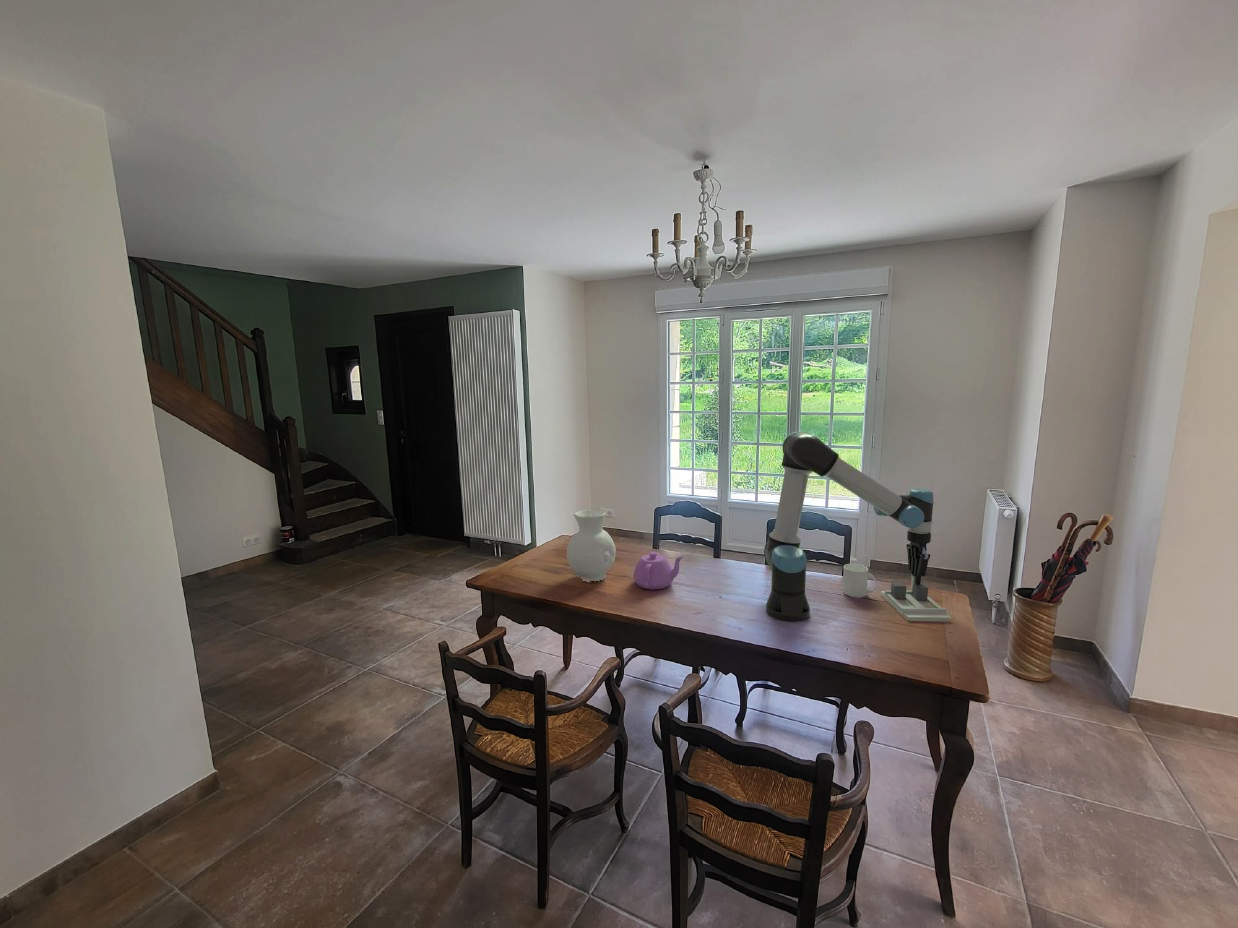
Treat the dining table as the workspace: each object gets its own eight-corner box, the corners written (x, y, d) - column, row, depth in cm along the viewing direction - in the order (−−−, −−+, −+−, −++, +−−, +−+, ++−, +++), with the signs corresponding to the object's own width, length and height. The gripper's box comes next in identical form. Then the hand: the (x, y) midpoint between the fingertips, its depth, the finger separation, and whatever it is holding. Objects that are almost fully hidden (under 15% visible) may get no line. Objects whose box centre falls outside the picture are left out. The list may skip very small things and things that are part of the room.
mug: (874, 602, 189) (875, 575, 187) (840, 594, 196) (841, 568, 194) (878, 594, 195) (880, 567, 194) (845, 587, 203) (846, 562, 201)
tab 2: (915, 600, 185) (916, 587, 184) (911, 597, 188) (912, 584, 187) (927, 600, 184) (928, 587, 184) (923, 597, 187) (923, 584, 187)
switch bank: (907, 620, 173) (908, 612, 173) (880, 594, 195) (881, 587, 194) (950, 621, 172) (951, 613, 172) (918, 594, 194) (919, 587, 193)
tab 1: (894, 598, 187) (895, 586, 186) (890, 595, 190) (891, 582, 189) (905, 598, 186) (906, 586, 186) (901, 595, 189) (902, 583, 188)
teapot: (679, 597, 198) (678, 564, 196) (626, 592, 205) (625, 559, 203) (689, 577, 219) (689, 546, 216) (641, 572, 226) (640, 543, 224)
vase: (623, 574, 224) (621, 509, 220) (596, 591, 207) (593, 521, 202) (590, 567, 234) (587, 504, 230) (561, 583, 217) (557, 515, 212)
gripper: (939, 536, 179) (935, 598, 182) (920, 525, 191) (917, 584, 195) (917, 536, 179) (913, 598, 183) (900, 526, 192) (896, 584, 196)
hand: (915, 591), depth 189 cm, fingers closed
